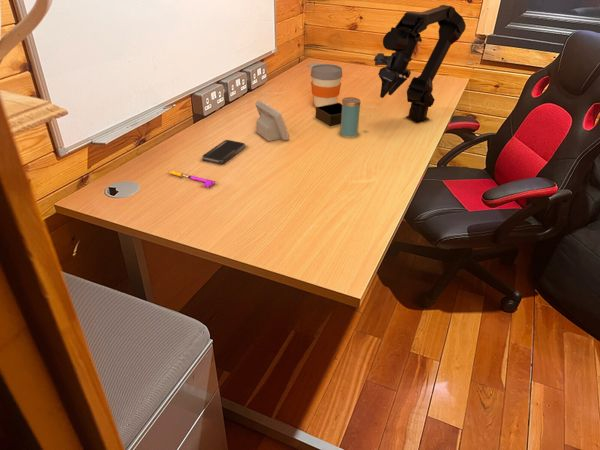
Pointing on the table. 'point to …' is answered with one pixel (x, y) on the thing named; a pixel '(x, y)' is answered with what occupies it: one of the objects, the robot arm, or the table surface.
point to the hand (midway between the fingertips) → (385, 96)
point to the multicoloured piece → (207, 182)
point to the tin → (350, 116)
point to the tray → (329, 114)
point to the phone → (223, 151)
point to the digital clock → (270, 123)
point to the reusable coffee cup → (325, 84)
